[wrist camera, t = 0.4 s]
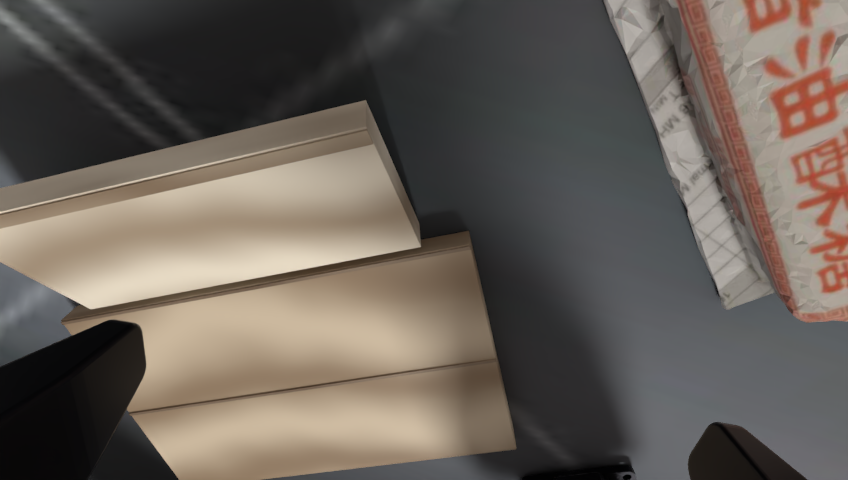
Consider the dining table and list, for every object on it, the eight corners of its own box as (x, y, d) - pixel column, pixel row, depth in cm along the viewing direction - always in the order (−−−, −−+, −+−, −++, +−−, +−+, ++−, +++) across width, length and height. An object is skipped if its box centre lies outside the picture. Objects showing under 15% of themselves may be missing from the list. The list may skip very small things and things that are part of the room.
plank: (419, 223, 21) (421, 248, 20) (98, 286, 24) (90, 310, 23) (365, 99, 15) (366, 128, 15) (-50, 200, 18) (-68, 228, 17)
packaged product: (1094, 263, 16) (771, 369, 19) (959, 201, 20) (713, 296, 23) (1120, -472, 9) (597, -121, 12) (905, -330, 13) (558, -97, 16)
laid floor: (514, 430, 27) (516, 450, 26) (194, 470, 30) (185, 489, 29) (468, 230, 21) (469, 244, 20) (77, 305, 25) (60, 321, 23)
